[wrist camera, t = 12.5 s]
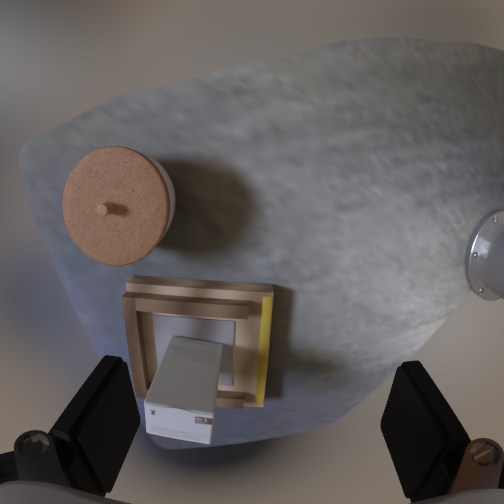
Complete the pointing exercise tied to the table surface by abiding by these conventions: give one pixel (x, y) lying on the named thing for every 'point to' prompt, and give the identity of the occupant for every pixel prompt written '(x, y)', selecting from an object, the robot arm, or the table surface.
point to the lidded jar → (118, 204)
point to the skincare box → (185, 391)
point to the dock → (202, 330)
